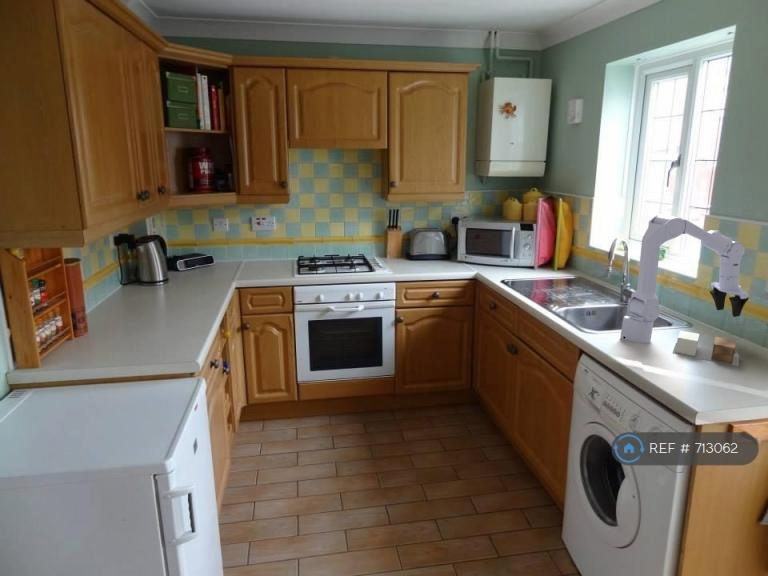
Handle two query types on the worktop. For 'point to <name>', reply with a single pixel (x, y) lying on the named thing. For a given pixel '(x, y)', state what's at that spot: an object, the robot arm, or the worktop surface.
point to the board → (708, 355)
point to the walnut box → (723, 349)
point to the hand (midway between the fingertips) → (728, 312)
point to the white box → (687, 343)
